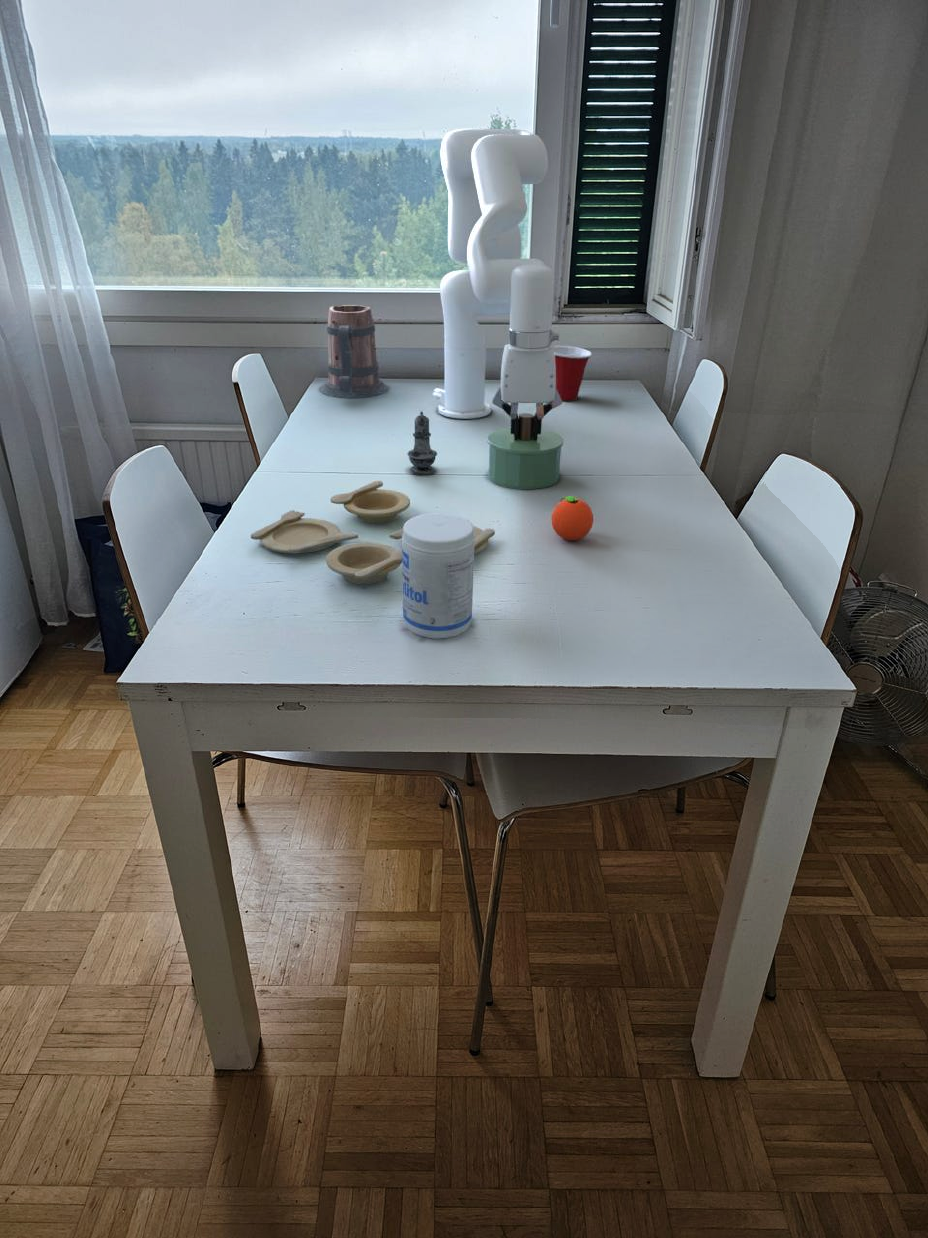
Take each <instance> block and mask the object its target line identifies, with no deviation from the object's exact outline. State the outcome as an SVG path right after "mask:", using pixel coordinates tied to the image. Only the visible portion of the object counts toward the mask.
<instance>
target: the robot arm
mask: <svg viewBox="0 0 928 1238" xmlns="http://www.w3.org/2000/svg"><path fill="white" fill-rule="evenodd" d="M548 158H549V157H548V152H547V148H546V145H545V143H544V141H543V139H542V138H541V137H540V136H539V135H537V134H535V133H532V132H530V131H527V130H524V129H515V128H475V127H474V128H459V129H454V130H451V131H449V132H447V133H446V134H445V135H444V137H443V139H442V141H441V146H440V162H441V163H440V164H441V168H442V173H443V176H444V180H445V183H446V187H447V191H448V211H447V212H448V213H447V214H448V215H447V216H448V217H447V223H448V224H447V248H448V249H447V251H448V255H449V257H450V260H451V261H452V262H454V263H456V264H458V265H467V268H468V269H460V270H454V271H451V272H448V273H447V274H445V275H444V276H443V277H442V279H441V280H440V281H441V282H440V284H439V285H440V286H439V296H440V302H441V308H442V317H443V330H444V331H443V332H444V333H443V334H444V335H443V336H444V338H443V339H444V343H443V344H444V345H443V346H444V389H443V388H438V387H437V388H435V389H434V390H433V393H432V399H435V400H440V403H439V405H438V406H437V412H438V413H439V414H440V415H442V416H444V417H448V418H452V419H461V420H462V419H465V420H468V419H469V420H470V419H479V418H483V417H486V416H488V415H490V414H491V412H492V407H491V405H490V404H489V403H488V402H485V400H486V399H485V398H486V397H485V396H486V391H485V390H486V353H487V351H486V350H487V349H486V348H487V347H486V345H487V336H486V333H485V330H484V328H483V327H482V326H481V325H480V323H479V322H478V321H477V319H476V317H477V316H487V315H488V316H489V315H505V314H509V332H508V333H509V335H508V343H507V344H505V345H504V348H503V353H502V358H501V367H500V377H499V378H500V379H499V386H498V388H497V390H496V392H495V393H494V396H493V397H492V400H491V403H492V404H493V405H494V406H496V407H498V408H500V409H502V410H503V411H504V412H505V414H507V415H508V416H509V418H510V427H511V434H514V440H517V439H518V436H519V414H518V410H519V404H535V413H534V414H533V415H534V423H533V439H534V440H537V438H538V434H541V429H542V424H543V423H542V422H543V419H544V418H545V416H546V415H548V413H549V412H551V411H552V410H553V409H556V408H558V407H559V406H561V405H562V404H563V401H562V400H561V397H560V395H559V393H558V391H557V389H556V366H555V352H554V346H555V345H552V343H553V342H555V341H560V332H556V331H553V330H552V322H553V305H554V290H555V289H554V288H555V274H554V273H555V272H554V270H553V269H552V268H551V267H549V266H547V265H546V263H545V262H544V261H542V260H541V259H539V258H522V234H521V230H520V227H519V224H521V222H523V220H524V219H525V217H526V215H527V212H528V205H527V200H526V195H525V190H524V186H523V185H537V184H540V183H542V181H543V180H544V179H545V178H546V175H547V172H548V167H549V159H548ZM509 403H510V404H509Z"/></svg>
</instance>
